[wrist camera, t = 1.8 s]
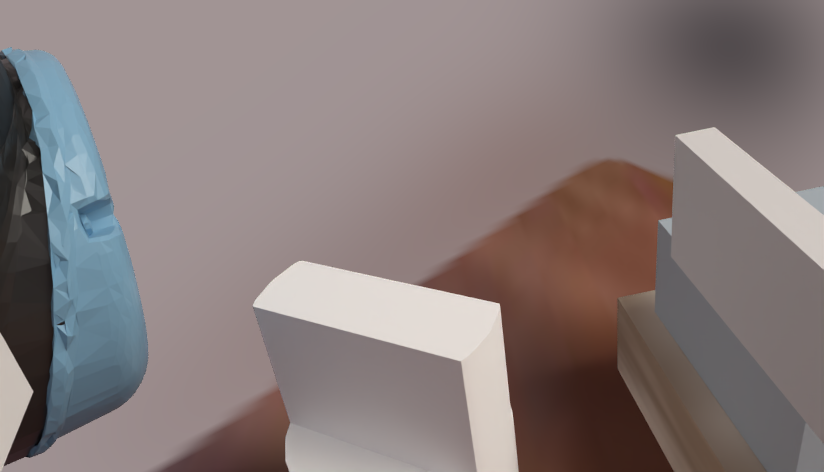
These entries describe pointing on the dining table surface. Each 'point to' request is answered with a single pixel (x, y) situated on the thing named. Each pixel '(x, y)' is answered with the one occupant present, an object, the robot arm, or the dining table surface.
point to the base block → (676, 395)
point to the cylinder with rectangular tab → (386, 374)
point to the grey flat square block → (735, 366)
